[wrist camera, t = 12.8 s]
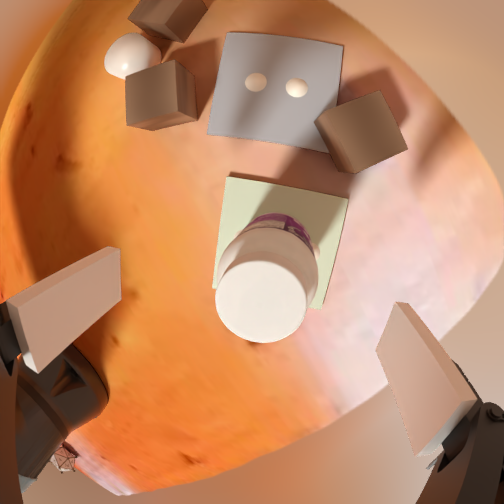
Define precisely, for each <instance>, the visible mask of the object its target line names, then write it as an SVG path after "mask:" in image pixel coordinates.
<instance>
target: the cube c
mask: <svg viewBox="0 0 504 504" xmlns="http://www.w3.org/2000/svg"><path fill="white" fill-rule="evenodd" d="M314 124H315V126H316V128H317V130H318V131H319V133H320V135H321V137H322V139H323V141H324V143H325V145H326V147H327V149H328V151H329V153H330V155H331V157H332V159H333V161H334V163H335V165H336V167H337V169H338V171H339V172H347V173H358V172H360V171H362V170H364V169H366V168H368V167H370V166H373V165H375V164H377V163H379V162H381V161H383V160H386V159H388V158H390V157H392V156H394V155H396V154H399V153H401V152H403V151H405V150H407V149H408V148H407V145H406V143H405V140H404V138H403V136H402V134H401V131H400V129H399V127H398V125H397V123H396V121H395V118H394V116H393V114H392V112H391V110H390V108H389V106H388V104H387V102H386V100H385V99H384V97H383V95H382V93H381V91H380V90H379V91H376V92H373V93H370V94H367V95H365V96H362V97H359V98H357V99H354V100H351V101H349V102H346V103H344V104H341V105H339V106H336V107H334V108H331V109H329V110H327V111H325V112H324V113H322V114H321V115H320V116H319V117H318V118H317V119H316V120H315V121H314Z"/></svg>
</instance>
